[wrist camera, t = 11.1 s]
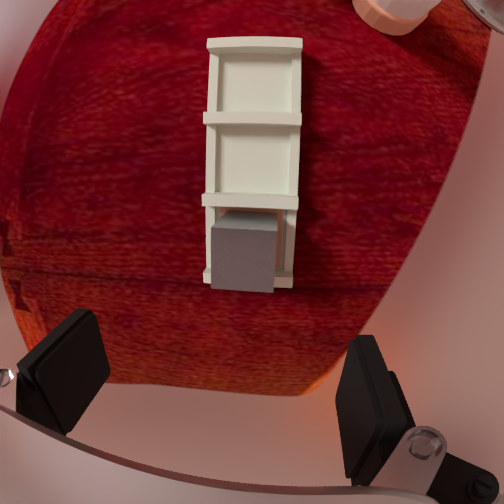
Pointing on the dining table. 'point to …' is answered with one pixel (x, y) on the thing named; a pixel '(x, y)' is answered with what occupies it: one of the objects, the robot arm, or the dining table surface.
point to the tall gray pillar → (244, 251)
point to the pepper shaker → (394, 14)
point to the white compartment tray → (254, 137)
